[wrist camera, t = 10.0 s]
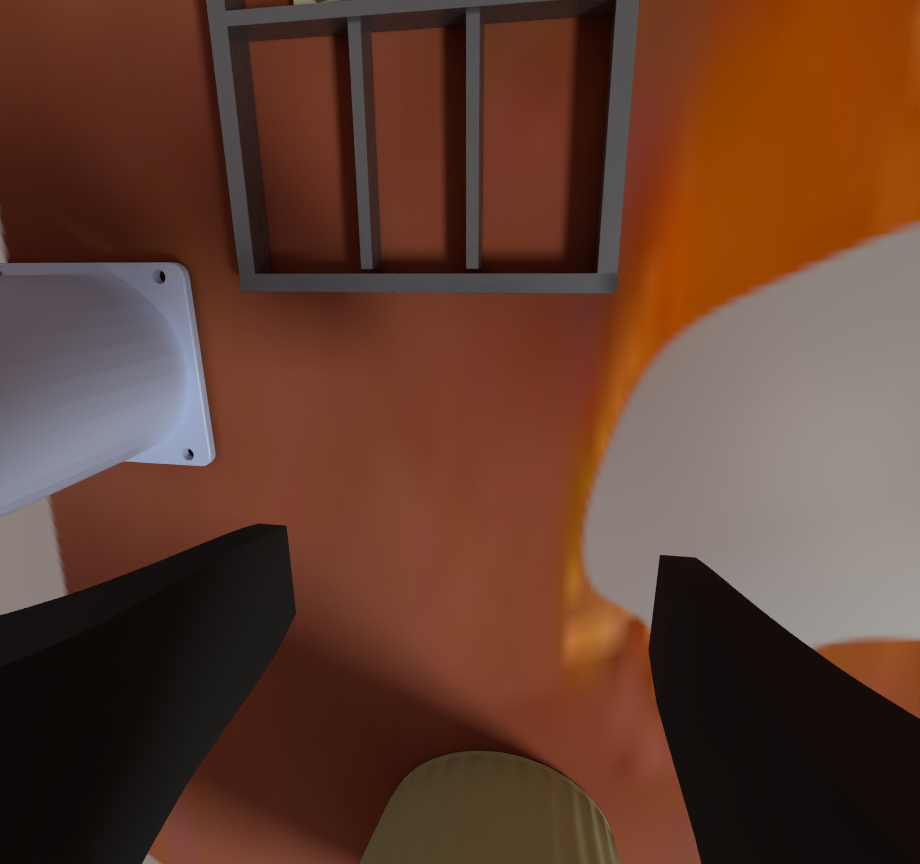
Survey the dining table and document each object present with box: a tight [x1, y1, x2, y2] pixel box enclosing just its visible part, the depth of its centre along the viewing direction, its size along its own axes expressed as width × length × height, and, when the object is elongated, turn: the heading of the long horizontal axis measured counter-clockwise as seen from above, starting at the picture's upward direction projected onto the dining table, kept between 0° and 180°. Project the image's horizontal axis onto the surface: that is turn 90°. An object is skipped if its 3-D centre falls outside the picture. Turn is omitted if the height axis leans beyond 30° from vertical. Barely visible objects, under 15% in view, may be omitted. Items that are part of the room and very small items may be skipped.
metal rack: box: [206, 0, 639, 293], centre depth 17 cm, size 13×12×1 cm
